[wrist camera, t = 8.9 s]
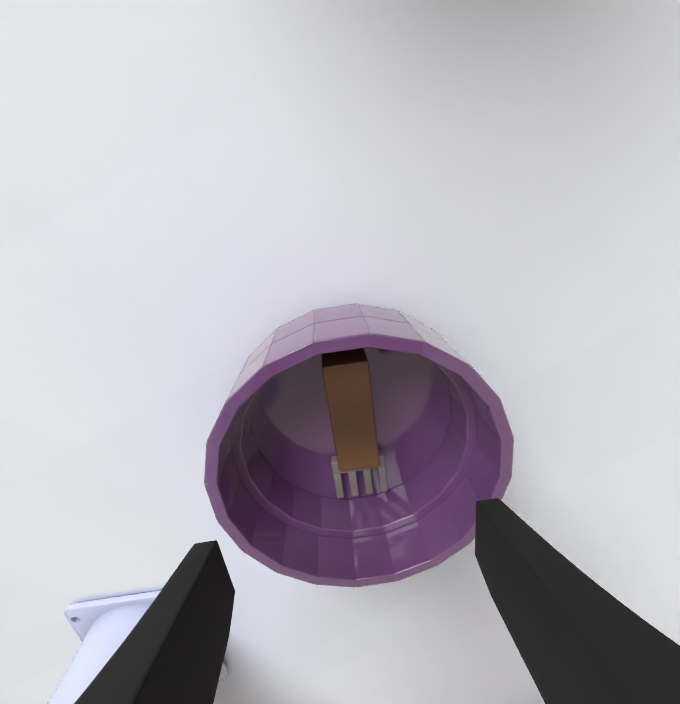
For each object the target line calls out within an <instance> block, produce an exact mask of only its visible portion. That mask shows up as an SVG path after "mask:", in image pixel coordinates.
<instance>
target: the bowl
mask: <svg viewBox="0 0 680 704" xmlns="http://www.w3.org/2000/svg"><path fill="white" fill-rule="evenodd" d="M358 348H364V351H365V353H366V356H367V359H368V362H369V371H370V380H371V389H372V397H373V406H374V415H375V424H376V432H377V441H378V449H382V450H383V453H384V457H385V468H386V477H387V487H388V491H385V492H381V491H380V486H379V478H378V470H377V468H376V469H370V470H371V477H372V485H373V493H371V494H366V490H365V483H364V476H363V470H362V471H356V478H357V485H358V492H359V495H358V496H352V495H351V488H350V482H349V476H348V473H342V474H341V477H342V483H343V489H344V498H337V494H336V488H335V483H334V477H333V472H332V467H331V456H336V451H335V445H334V439H333V433H332V427H331V421H330V415H329V409H328V403H327V397H326V392H325V386H324V380H323V374H322V361H321V354H324V353H331V352H338V351H345V350H352V349H358ZM513 442H514V439H513V434H512V431H511V428H510V426H509V423H508V420H507V417H506V414H505V411H504V408H503V405H502V402H501V400H500V398H499V397H498V396H497V394H496V393H495V392H494V391H493V390H492V389H491V388H490V387H489V385H488V384H487V383H486V382H485V381H484V380H483V379H482V378H481V376H480V375H479V374H478V373H477V372H476V371H475V370H474V369H473V367H472V366H471V365H470V364H469V363H468V362H467V361H465V360H464V359H463V358H462V357H461V356H460V355H459V354H458V353H457V352H456V351H455V350H454V349H453V348H452V347H451V346H450V345H449V344H448V343H446V342H445V341H444V340H443V339H442V338H441V337H440V336H439V335H438V334H437V333H436V332H435V331H434V330H433V329H432V328H430V327H428V326H426V325H424V324H422V323H420V322H419V321H417V320H415V319H413V318H411V317H409V316H407V315H406V314H404V313H402V312H400V311H396V310H391V309H385V308H380V307H374V306H368V305H362V304H358V305H357V304H351V305H344V306H337V307H330V308H323V309H316V310H313V311H311V312H309V313H307V314H305V315H303V316H301V317H299V318H297V319H295V320H293V321H291V322H289V323H287V324H285V325H283V326H281V327H279V328H278V329H276V330H275V331H274V332H273V333H272V334H271V335H270V336H269V337H268V338H267V339H266V340H265V341H264V342H263V343H262V344H261V345H260V346H259V347H258V348H257V349H256V350H255V351H254V352H253V353H252V354H251V355H250V356H249V358H248V360H247V361H246V363H245V365H244V367H243V369H242V371H241V373H240V375H239V377H238V379H237V381H236V383H235V385H234V386H233V388H232V390H231V392H230V394H229V396H228V398H227V400H226V402H225V404H224V406H223V408H222V410H221V412H220V414H219V417H218V419H217V421H216V423H215V425H214V427H213V429H212V431H211V433H210V435H209V437H208V440H207V443H206V458H205V476H204V483H205V488H206V491H207V493H208V496H209V499H210V502H211V505H212V508H213V510H214V513H215V516H216V519H217V521H218V523H219V524H220V525H221V526H222V528H223V529H224V530H225V531H226V532H227V534H228V535H229V536H230V537H231V538H232V540H233V541H234V542H235V543H236V544H237V546H238V547H239V548H240V549H241V550H242V551H243V552H245V553H246V554H248V555H249V556H251V557H252V558H254V559H256V560H257V561H259V562H260V563H262V564H263V565H265V566H267V567H268V568H270V569H271V570H273V571H274V572H277V573H279V574H283V575H286V576H289V577H292V578H295V579H299V580H302V581H305V582H308V583H311V584H316V585H329V586H343V587H362V586H368V585H375V584H382V583H388V582H395V581H399V580H402V579H404V578H407V577H409V576H412V575H415V574H417V573H420V572H422V571H425V570H428V569H430V568H433V567H435V566H437V565H439V564H440V563H442V562H443V561H445V560H446V559H448V558H449V557H451V556H452V555H454V554H455V553H456V552H458V551H459V550H461V549H462V548H464V547H465V546H467V545H468V544H469V543H470V542H471V541H472V540H473V539H474V538H475V526H476V501H480V500H487V499H494V498H498V499H500V500H502V498H503V496H504V493H505V491H506V489H507V486H508V484H509V482H510V480H511V476H512V459H513Z"/></svg>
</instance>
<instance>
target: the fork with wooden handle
mask: <svg viewBox="0 0 680 704" xmlns="http://www.w3.org/2000/svg"><path fill="white" fill-rule="evenodd" d="M321 361H322V374H323V380H324V386H325V392H326V397H327V403H328V409H329V415H330V421H331V427H332V433H333V439H334V445H335V451H336V456H331V467H332V472H333V477H334V483H335V488H336V494H337V498H344V489H343V483H342V477H341V474H342V473H348V476H349V482H350V488H351V495H352V496H358V495H359V492H358V485H357V478H356V471H362V470H363V476H364V483H365V490H366V494H371V493H373V485H372V477H371V470H370V469H376V468H377V470H378V478H379V486H380V491H381V492H385V491H388V487H387V477H386V468H385V457H384V453H383V450H382V449H378V441H377V432H376V424H375V415H374V406H373V397H372V389H371V380H370V371H369V362H368V359H367V356H366V353H365V351H364V348H358V349H352V350H345V351H338V352H331V353H324V354H321Z"/></svg>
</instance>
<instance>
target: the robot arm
mask: <svg viewBox="0 0 680 704" xmlns="http://www.w3.org/2000/svg"><path fill="white" fill-rule="evenodd" d="M475 555H476V558H477V561H478V563H479V566H480V568H481V571H482V574H483V576H484V579H485V581H486V584H487V586H488V589H489V591H490V594H491V596H492V598H493V600H494V602H495V604H496V606H497V608H498V610H499V612H500V614H501V616H502V618H503V620H504V622H505V624H506V626H507V628H508V630H509V632H510V634H511V636H512V638H513V640H514V642H515V644H516V646H517V648H518V650H519V652H520V654H521V656H522V658H523V660H524V662H525V664H526V666H527V668H528V670H529V672H530V674H531V676H532V678H533V680H534V682H535V684H536V686H537V688H538V690H539V692H540V694H541V696H542V698H543V700H544V702H545V704H680V646H679V645H678V644H677V643H675V642H674V641H672V640H671V639H670V638H668V637H667V636H665V635H664V634H663V633H661V632H660V631H658V630H657V629H656V628H654V627H653V626H651V625H650V624H649V623H647V622H646V621H645V620H643V619H642V618H641V617H639V616H638V615H637V614H635V613H634V612H633V611H631V610H630V609H629V608H627V607H626V606H625V605H623V604H622V603H621V602H620V601H618V600H617V599H616V598H615V597H613V596H612V595H611V594H609V593H608V592H607V591H606V590H604V589H603V588H602V587H600V586H599V585H598V584H597V583H595V582H594V581H593V580H592V579H591V578H589V577H588V576H587V575H586V574H584V573H583V572H582V571H581V570H580V569H578V568H577V567H576V566H575V565H574V564H572V563H571V562H570V561H569V560H568V559H566V558H565V557H564V556H563V555H562V554H561V553H559V552H558V551H557V550H556V549H555V548H553V547H552V546H551V545H550V544H549V543H548V542H547V541H545V540H544V539H543V538H542V537H541V536H540V535H539V534H538V533H536V532H535V531H534V530H533V529H532V528H531V527H530V526H529V525H527V524H526V523H525V522H524V521H523V520H522V519H521V518H520V517H519V516H518V515H516V514H515V513H514V512H513V511H512V510H511V509H510V508H509V507H508V506H507V505H505V504H504V503H503V502H502V501H501V500H500V499H498V498H494V499H487V500H480V501H476V526H475ZM234 595H235V590H234V587H233V584H232V581H231V579H230V576H229V573H228V570H227V567H226V565H225V562H224V559H223V556H222V553H221V551H220V548H219V545H218V542H217V540H216V541H209V542H203V543H196V544H194V545H193V547H192V548H191V549H190V551H189V552H188V554H187V555H186V556H185V558H184V559H183V560H182V562H181V563H180V565H179V566H178V568H177V569H176V570H175V572H174V573H173V575H172V576H171V577H170V579H169V580H168V582H167V583H166V584H165V586H164V587H163V589H162V590H159V591H152V592H146V593H139V594H132V595H126V596H119V597H112V598H106V599H99V600H92V601H86V602H79V603H73V604H70V605H69V606H68V607H67V609H66V610H65V612H64V614H65V616H66V618H67V619H68V621H69V622H70V624H71V625H72V627H73V629H74V630H75V632H76V633H77V635H78V636H79V638H80V639H81V641H82V643H81V645H80V647H79V649H78V651H77V652H76V654H75V656H74V658H73V659H72V661H71V663H70V665H69V667H68V668H67V670H66V672H65V674H64V675H63V677H62V679H61V681H60V683H59V684H58V686H57V688H56V690H55V691H54V693H53V695H52V697H51V699H50V700H49V702H48V704H213V702H214V698H215V693H216V689H217V685H218V681H222V680H224V679H225V678H226V675H227V669H226V666H225V664H224V662H223V660H224V655H225V651H226V647H227V642H228V638H229V632H230V625H231V618H232V611H233V603H234Z"/></svg>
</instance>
